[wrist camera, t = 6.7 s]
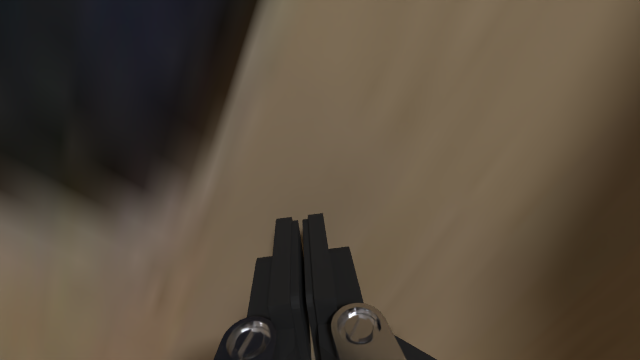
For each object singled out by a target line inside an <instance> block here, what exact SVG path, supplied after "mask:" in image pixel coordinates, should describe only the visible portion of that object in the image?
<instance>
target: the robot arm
mask: <svg viewBox="0 0 640 360" xmlns="http://www.w3.org/2000/svg"><path fill="white" fill-rule="evenodd" d="M302 222H303V245H304V257H303V250H302V243H301V237H300V230H299V224H298V220H296V221H292V217H288V218H280V219H276V226H275V236H274V247H273V256H270V257H262V258H257V261H256V266H255V272H254V278H253V284H252V290H251V296H250V302H249V308H248V314H247V318H245V319H242V320H240V321H238V322H237V323H235V324H234V325H232V326H231V327H230V328H229V329H228V330H227V331H226V333H225V335H224V336H223V338H222V340H221V343H220V345H219V348H218V350H217V353H216V355H215V358H214V360H311V341H310V330H311V336H312V342H313V348H314V355H315V360H436V359H435V358H433V357H431V356H430V355H428V354H426V353H424V352H423V351H421V350H419V349H417V348H416V347H414V346H412V345H410V344H409V343H407V342H405V341H404V340H402V339H400V338H398V337H397V336H395V335H394V334H393V333H392V331H391V329H390V327H389V325H388V323H387V321H386V319H385V317H384V316H383V314H382V313H381V312H380V311H379V310H378V309H376V308H375V307H373V306H371V305H368V304H364V303H363V299H362V295H361V291H360V287H359V283H358V279H357V276H356V272H355V268H354V264H353V260H352V256H351V252H350V249H349V247H341V248H333V249H328V244H327V237H326V231H325V225H324V218H323V213H320V214H312V215H308V219H304V220H302Z"/></svg>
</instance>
